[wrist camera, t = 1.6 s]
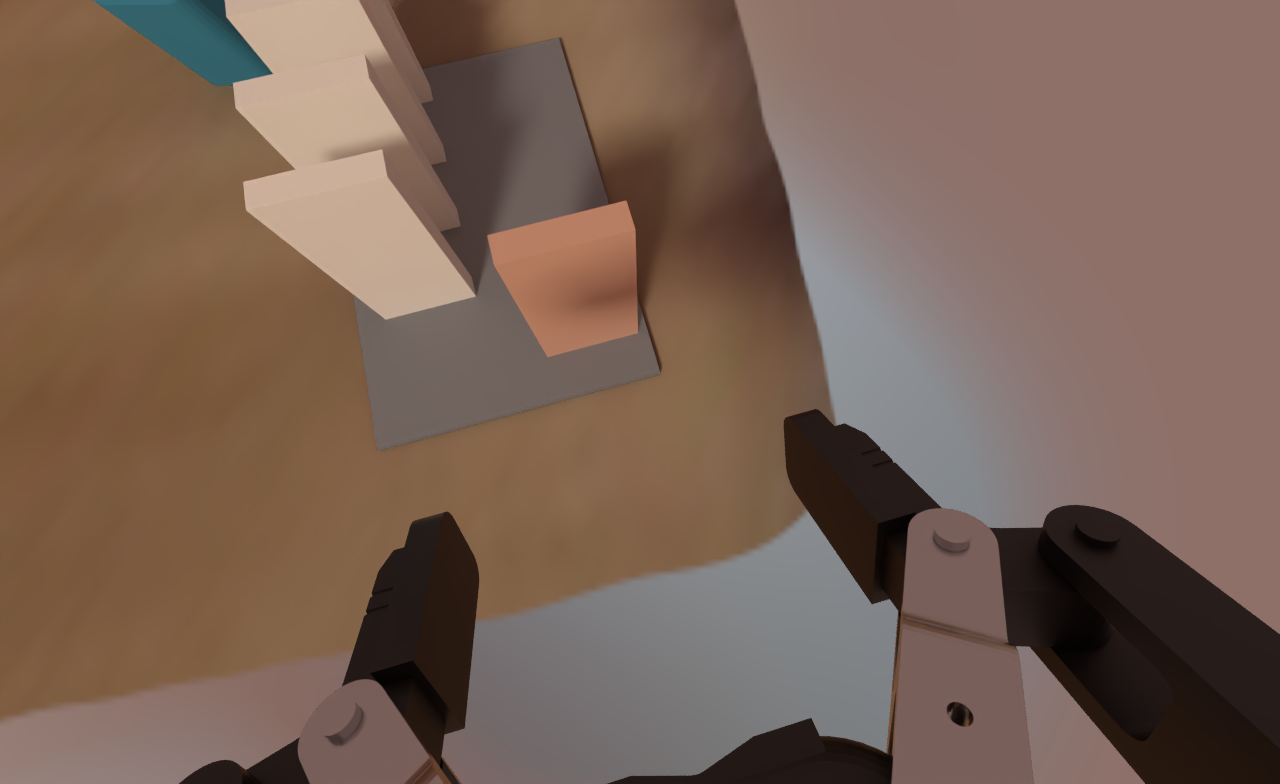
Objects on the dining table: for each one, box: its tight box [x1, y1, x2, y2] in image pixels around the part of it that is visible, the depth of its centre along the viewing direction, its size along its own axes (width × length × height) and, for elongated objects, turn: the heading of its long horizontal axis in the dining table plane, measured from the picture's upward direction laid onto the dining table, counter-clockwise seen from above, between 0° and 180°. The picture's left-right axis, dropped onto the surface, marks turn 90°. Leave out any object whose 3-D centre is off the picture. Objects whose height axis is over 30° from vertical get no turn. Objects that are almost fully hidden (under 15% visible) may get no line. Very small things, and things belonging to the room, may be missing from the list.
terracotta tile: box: [487, 201, 638, 357], centre depth 22 cm, size 1×5×10 cm, turn 106°
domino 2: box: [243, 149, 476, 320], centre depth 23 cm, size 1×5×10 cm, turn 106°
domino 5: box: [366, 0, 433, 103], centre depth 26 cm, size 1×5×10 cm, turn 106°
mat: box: [353, 38, 660, 450], centre depth 29 cm, size 23×15×1 cm, turn 16°
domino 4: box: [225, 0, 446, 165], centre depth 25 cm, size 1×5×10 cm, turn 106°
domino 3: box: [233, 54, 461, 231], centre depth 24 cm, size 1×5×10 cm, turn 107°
